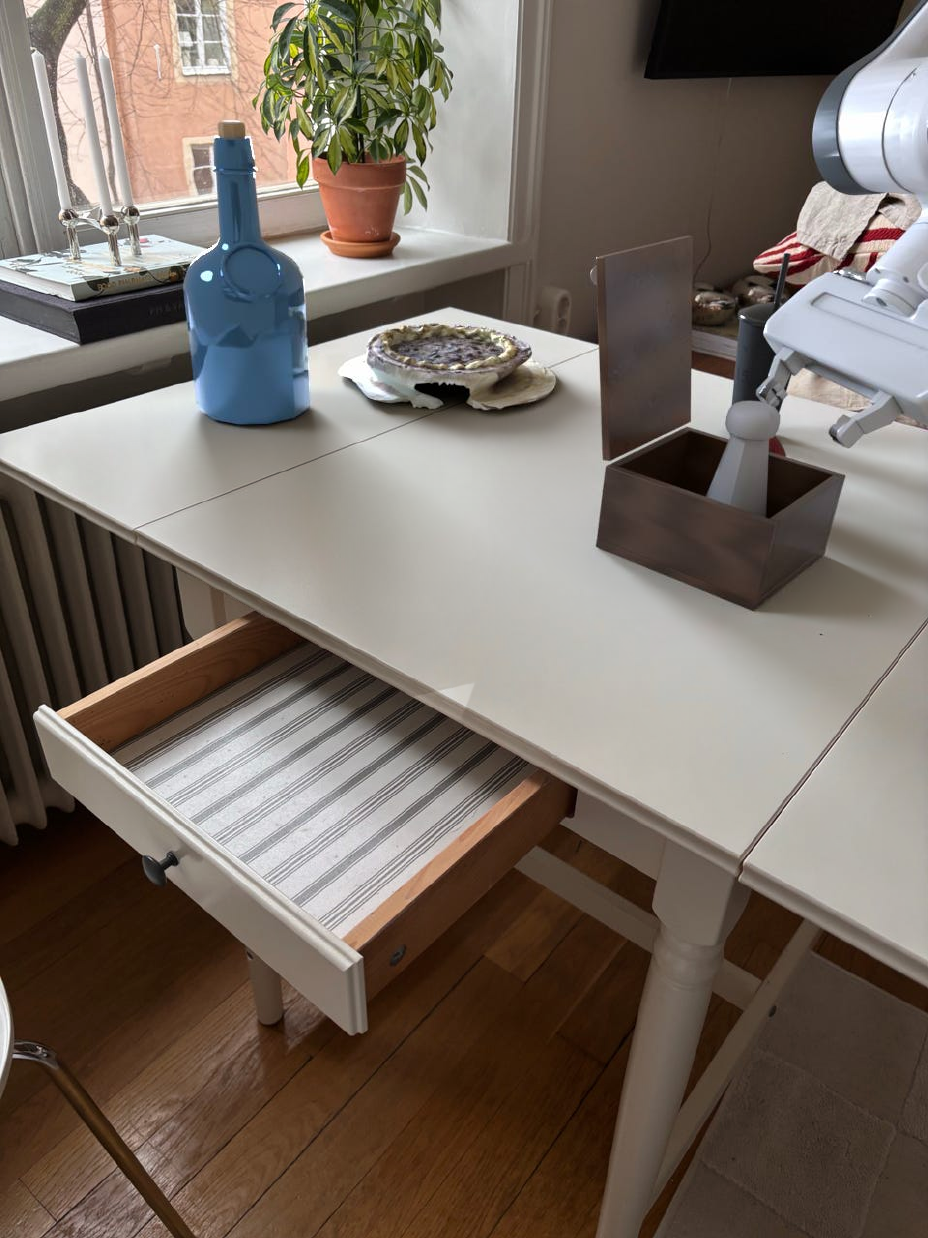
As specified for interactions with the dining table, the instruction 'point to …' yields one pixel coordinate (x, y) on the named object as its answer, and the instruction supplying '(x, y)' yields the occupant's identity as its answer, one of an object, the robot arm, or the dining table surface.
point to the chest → (715, 518)
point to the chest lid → (644, 342)
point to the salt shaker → (746, 457)
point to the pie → (449, 366)
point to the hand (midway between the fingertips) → (798, 420)
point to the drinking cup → (756, 345)
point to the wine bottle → (245, 305)
